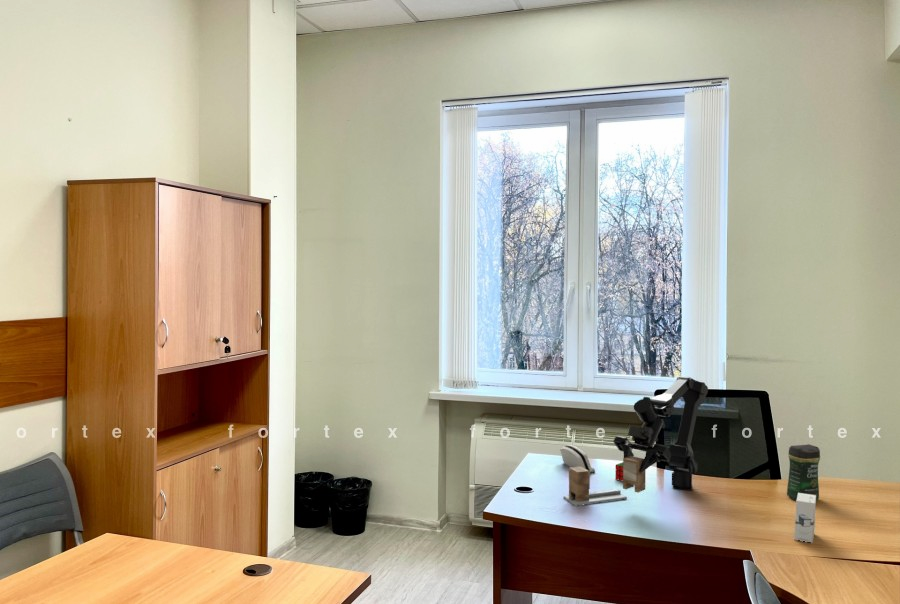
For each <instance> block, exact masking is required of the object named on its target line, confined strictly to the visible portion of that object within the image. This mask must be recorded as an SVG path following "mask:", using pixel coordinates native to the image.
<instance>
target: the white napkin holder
mask: <svg viewBox="0 0 900 604" xmlns="http://www.w3.org/2000/svg"><path fill="white" fill-rule="evenodd" d="M559 451H560V454H561V458H562V462H563V464H565V463H566V464H565V465H567V466H568V465H569V467H570V466H571V467H580V466H581V467H583V468H585V469H586V470H588V471H589V472H590V473H593V472H596V470H595V468H594V467H592V465H591V463H590V460H589V458H588V456H587V454H586V452H585V451H583V450H582V449H580V448H579V447H577V446H576V445H573V444H567V445H565V446H563V447H561V448H560V450H559ZM571 467H570V468H571ZM592 471H593V472H592Z"/></svg>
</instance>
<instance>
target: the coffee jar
mask: <svg viewBox="0 0 900 604" xmlns="http://www.w3.org/2000/svg"><path fill="white" fill-rule="evenodd" d="M787 454H788V459H789V471H788V479H787V489H786V495H787V497H789V498H790V499H792V500H793V501H796V500H797V495H798V493H803V494H810V495H816V501H818V500H819V498H820V489H819V488H820V485H819V463H820V461H821V451H820V448H819V447H818V446H816V445H812V444H809V443H808V444H797V445H791V446H789V447H788V453H787Z"/></svg>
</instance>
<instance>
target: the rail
mask: <svg viewBox="0 0 900 604" xmlns="http://www.w3.org/2000/svg"><path fill="white" fill-rule="evenodd" d="M606 490H607V489H606ZM606 490H599V491H600V492H598V491H593V492H592V491H591V492H592V493H590V492H589V498H593V497H601V496H608V495H616V494H622V492H621V491H622V490H621V489H619V488H616V489H608V490H607V491H606ZM568 495H569V494H568ZM569 499H570V500H575V495H569Z"/></svg>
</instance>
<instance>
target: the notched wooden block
mask: <svg viewBox="0 0 900 604" xmlns="http://www.w3.org/2000/svg"><path fill="white" fill-rule="evenodd" d="M643 460H644V458H642V457H637V456H635V455H634V456H629V457H626V458H624V457H623V458H622V462H623V481H622V489H623V490H628V489H630V488H633V487H634V492H635V493H637V494H639V493H641V492H642V491H643V492H644V491H645V490H646V472H647V471H646V470H647V469H646V470H644V471H643V472H642V473H640V472H639V469H640V466H641V464H642V462H643Z"/></svg>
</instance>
